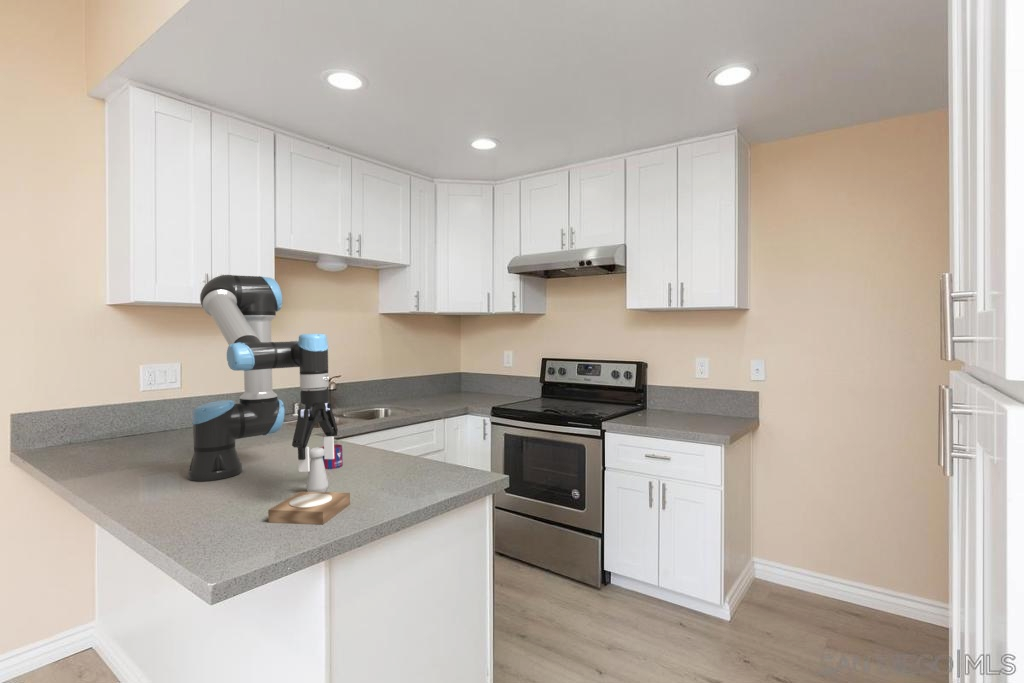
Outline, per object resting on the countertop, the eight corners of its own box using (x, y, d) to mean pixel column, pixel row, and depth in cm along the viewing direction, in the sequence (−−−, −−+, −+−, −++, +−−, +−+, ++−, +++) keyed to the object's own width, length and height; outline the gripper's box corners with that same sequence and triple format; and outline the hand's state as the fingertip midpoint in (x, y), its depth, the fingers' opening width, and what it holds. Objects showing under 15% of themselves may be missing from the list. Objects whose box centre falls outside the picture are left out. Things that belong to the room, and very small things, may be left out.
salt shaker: (321, 489, 148) (320, 445, 147) (332, 493, 144) (331, 447, 144) (302, 495, 143) (301, 448, 143) (313, 499, 139) (312, 451, 139)
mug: (332, 470, 169) (331, 449, 169) (310, 467, 173) (309, 446, 173) (346, 465, 175) (346, 445, 175) (325, 462, 179) (324, 442, 179)
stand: (268, 522, 123) (268, 508, 123) (300, 502, 137) (300, 490, 137) (323, 524, 121) (322, 510, 121) (350, 504, 135) (349, 491, 135)
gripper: (302, 394, 130) (305, 477, 130) (347, 384, 155) (350, 454, 155) (275, 394, 131) (278, 477, 131) (324, 384, 156) (327, 454, 156)
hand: (317, 464), depth 143 cm, fingers open, 13 cm apart
